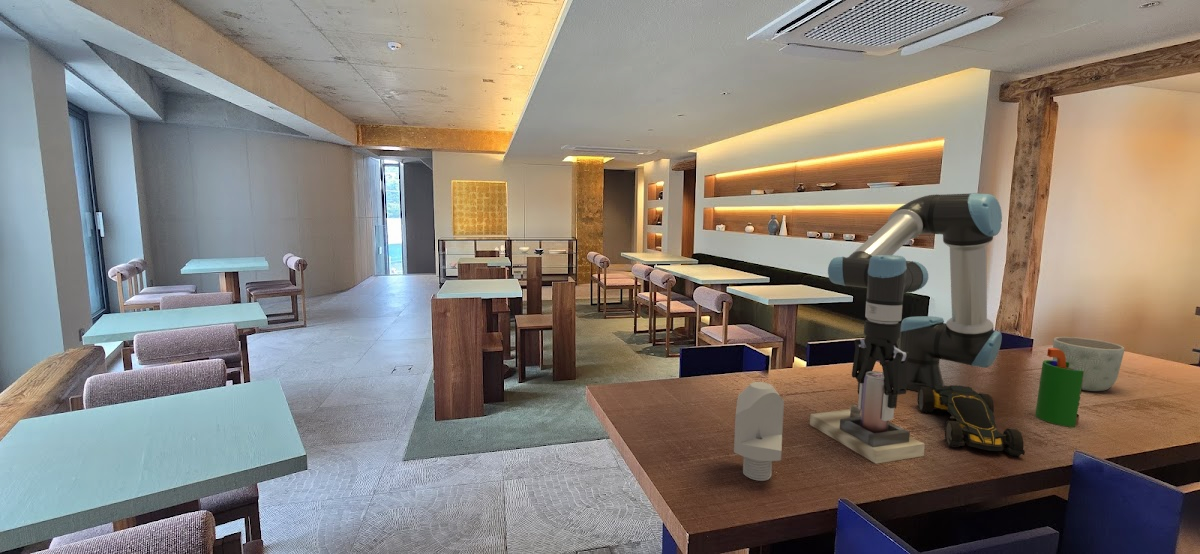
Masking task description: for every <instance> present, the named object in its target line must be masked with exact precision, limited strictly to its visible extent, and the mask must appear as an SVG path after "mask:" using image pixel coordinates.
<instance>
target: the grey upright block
mask: <svg viewBox="0 0 1200 554" xmlns="http://www.w3.org/2000/svg"><path fill="white" fill-rule="evenodd" d="M784 407H785V400H784V399H783V397H781V395H780V394H779V392H778V391H777V390H776V388H775V387H774V386H773V385H772V384H770V383H769V382H768V383H767V382H765V381H763V382H762V381H754V382H751V383H749V385H748V386H747V387H745V388H744V389H743V390H742V391H741V393H739V394H738V396H737V401H736V409H735V419H734V421H735V422H734V438H733V439H734V440H733V441H734V442H733V453H735V454H736V455H739V456H741V457H743V460H742V461H743V463H742V464H743V465H742V473H743V475H744V476H745V477H747V478H749V479H751V480H754V481H759V482H765V481H768V480H769V479H771V477H772V474H773V473H772V470H773V462H778V461H782V449H783V447H782V445H783V429H784V428H783V427H784V409H785V408H784Z"/></svg>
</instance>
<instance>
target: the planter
mask: <svg viewBox="0 0 1200 554" xmlns="http://www.w3.org/2000/svg"><path fill="white" fill-rule="evenodd" d="M1052 342H1053V344H1052V348H1056V349H1059V350H1061V351H1063V352H1064V354H1065V358H1066V362H1069V368H1071V369H1076V370H1080V371H1084V376H1083V382H1082V388H1081V391H1085V392H1086V391H1087V392H1088V391H1089V392H1103V391H1106V390H1108V389H1110V388H1112V387H1113V386H1114V385H1115V383H1116V382H1117V380H1118V377H1119V373H1120V370H1121V365H1122V361H1123V358H1124V353H1125V349H1126V348H1125V347H1124V346H1123V345H1121V344H1118V343H1115V342H1114V343H1113V342H1111V341H1110V342H1109V341H1105V340H1100V339H1092V338H1085V337H1075V336H1057V337H1054V338H1053V341H1052ZM1052 360H1056V361H1057V357H1052Z"/></svg>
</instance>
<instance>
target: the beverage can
mask: <svg viewBox="0 0 1200 554" xmlns="http://www.w3.org/2000/svg"><path fill="white" fill-rule="evenodd" d="M885 392H887V390H886V385H885V380H884V374H883V371H877V370H872V371H868V372H866V375H865V377H864V388H863V399H862V410H861V421H860V426H861V427H862V428H864V429H866V430H868V431H870V432H872V433H874V434H875V433H882V432H888V426H889V422H890V420H888V421H883V420H881V418H882V406H883V394H884V393H885Z"/></svg>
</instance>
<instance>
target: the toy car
mask: <svg viewBox="0 0 1200 554" xmlns="http://www.w3.org/2000/svg"><path fill="white" fill-rule="evenodd" d="M917 407H918V410H919V411H920V412H921V413H929V414H930V413H931V412H933V411H934V409H935V410H941V411H942V412H943V413H944V412H946V413H949V414H950V415H951V416H950V417H949V419H956V421H953V420H947V421H946V423H945V425H944V439H945V442H946V444H947V446H948V447H953V448H959V447H960V446H962V447H964V446H965V444H966V445H967V446H968V447H972V448H976V449H980V450H985V451H995V452H1002V451H1005V452H1006V454H1007V455H1009V456H1013V457H1020V456H1021V455H1023V456H1025V454H1026V451H1025V450H1024V438H1023V435H1022V432H1021V431H1020V430H1018V429H1016V428H1010V427H1009V428H1008V427H1007V428H1006V429H1005V430H1004V431H1003V433H1002V432H999V431H998V429H997V424H996V417H995V414H994V411H995V410H994V409H995V408H994V407H995V405H994V400H993V398H992V396H991V395H990V394H989V393H981V392H980V393H978V392H976V391H975V390H974V389H973V388H972V387H971V386H966V385H965V386H964V385H954V384H953V385H944V387H941V385H934V390H931V389H930V388H929V387H920V388H919V390H918V391H917Z"/></svg>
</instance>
